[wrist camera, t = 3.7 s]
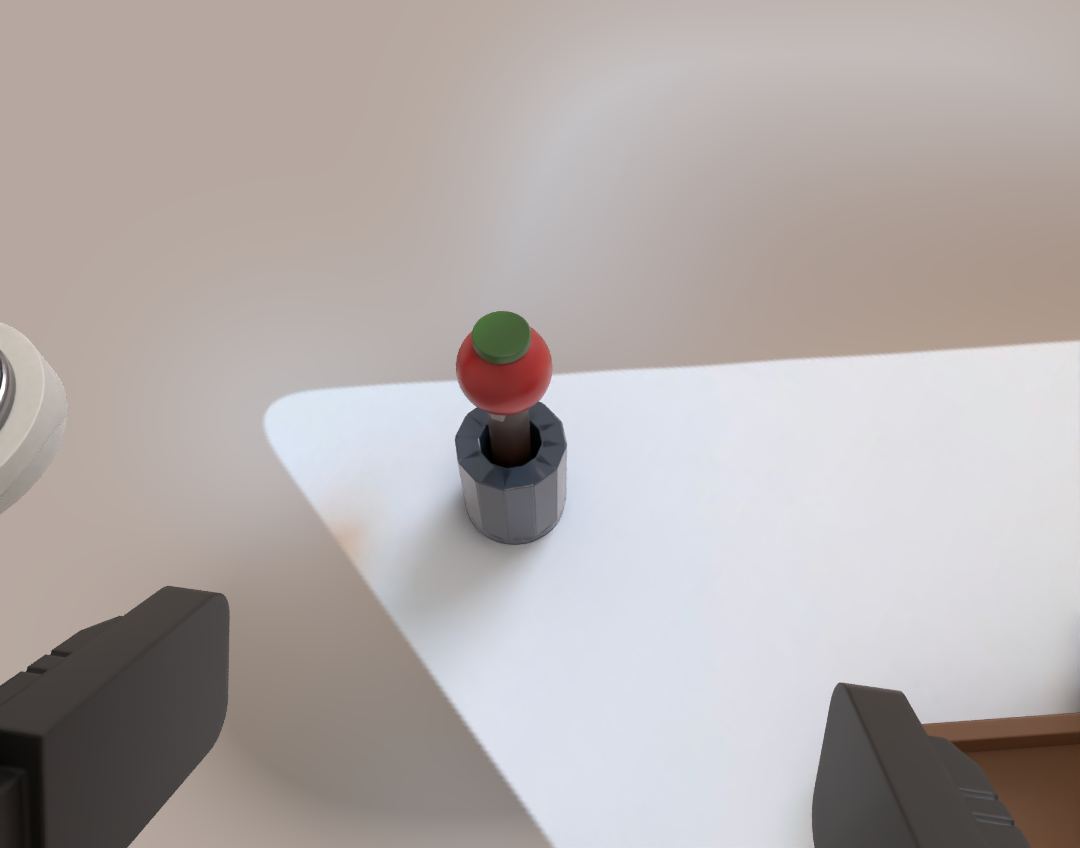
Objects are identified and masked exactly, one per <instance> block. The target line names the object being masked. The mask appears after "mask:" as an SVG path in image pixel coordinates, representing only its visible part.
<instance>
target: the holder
mask: <svg viewBox="0 0 1080 848" xmlns="http://www.w3.org/2000/svg"><path fill="white" fill-rule="evenodd" d="M529 420H530V440H531V461H529V462H528V463H527V464H525V465H524V466H519V467H512V468H504V467H501V466H498V465H495V464H493V458H492V450H491V442H490V433H489V425H488V417H487V412H485V411H483V410H481V409H479V408H478V407H477V408H475V409H474V410H472V411H471V412H469V413H468V414H467V415H466V416H465V418H464V420H463V422H462V424H461V426H460V428H459V430H458V432H457V434H456V438H455V445H456V452H457V460H458V466H459V471H460V476H461V481H462V487H463V492H464V497H465V503H466V508H467V512H468V514H469V516H470V519H471V520H472V522H473V524H474V525H475V526H476V528H477V529H478V530H479V531H480V532H482V533H483V534H484V535H485V536H487V537H489V538H491V539H493V540H495V541H498V542H502V543H507V544H522V543H527V542H531V541H534V540H536V539H538V538H540V537H542V536H544V535H545V534H547V533H548V532H549V531H550V530H551V529H552V528H553V527H554V526H555V525H556V524H557V522H558V521H559V519H560V517H561V515H562V512H563V509H564V502H565V500H566V471H567V442H566V438H565V433H564V429H563V424H562V422H561V420H560V419H559V418H558V417H557V416H556V415H555V414H554V413H553V412H552V411H551V410H550V409H548V408H547V407H546V406H545V405H544V404H543V403H541V402H537V403H536V404H535V405H534V406H532V407H531V408H529Z"/></svg>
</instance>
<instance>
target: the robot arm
mask: <svg viewBox="0 0 1080 848" xmlns="http://www.w3.org/2000/svg"><path fill="white" fill-rule="evenodd" d="M15 393H16V379H15V374H14V370H13V367H12V365H11V363H10V361H9V360H8V358H7V357H6V356H5V354H4V353H3V352H2V351H1V350H0V430H1V429H2V427H3V426H4V424H5V422H6V420H7V418H8V416H9V414H10V412H11V409H12V406H13V403H14V399H15ZM228 669H229V605H228V601H227V599H226V597H225V596H224V595H223V594H221V593H215V592H208V591H201V590H194V589H186V588H180V587H172V586H166V587H164V588H162V589H160V590H159V591H158V592H156V593H155V594H153V595H152V596H150V597H149V598H148V599H146V600H145V601H144V602H142V603H141V604H139V605H138V606H137V607H135V608H134V609H132V610H131V611H130V612H128V613H127V614H125V615H124V616H118V617H115V618H113V619H110V620H107V621H105V622H102V623H99V624H97V625H94V626H92V627H89V628H86V629H84V630H81V631H79V632H78V633H76V634H75V635H73V636H72V637H70V638H69V639H68V640H66V641H65V642H63V643H62V644H60V645H59V646H57V647H56V648H54V649H53V650H52V651H51V654H50V655H44V656H43V657H41V658H40V659H38V660H37V661H36V662H34V663H33V664H31V665H30V666H28V667H27V671H26V672H20V673H18V674H17V675H15V676H14V677H13V678H11V679H9V680H8V681H7V682H5V683H4V684H2V685H1V686H0V848H127V847H128V846H129V845H130V844H131V843H132V841H133V840H134V839H135V838H136V837H137V836H138V834H139V833H140V832H141V831H142V830H143V828H144V827H145V826H146V825H147V824H148V823H149V821H150V820H151V819H152V818H153V817H154V816H155V814H156V813H157V812H158V811H159V810H160V808H161V807H162V806H163V805H164V804H165V803H166V802H167V800H168V799H169V798H170V797H171V796H172V795H173V793H174V792H175V791H176V790H177V789H178V787H179V786H180V785H181V784H182V783H183V782H184V780H185V779H186V778H187V777H188V776H189V774H190V773H191V772H192V771H193V770H194V769H195V768H196V766H197V765H198V764H199V763H200V762H201V761H202V759H203V758H204V757H205V756H206V755H207V753H208V752H209V751H210V750H211V748H212V747H213V746H214V744H215V742H216V740H217V739H218V737H219V734H220V732H221V729H222V726H223V723H224V720H225V716H226V711H227V704H228ZM998 796H999V795H998V794H997V792H996V791H995V789H994V788H993V786H992V785H991V783H990V781H989V780H988V778H987V777H986V775H985V774H984V772H983V770H982V769H981V767H980V766H979V765H978V764H977V763H975V762H974V761H973V760H972V759H971V758H969V757H968V756H967V755H966V754H965V753H963V752H962V751H961V750H960V749H958V748H957V747H956V746H955V745H954V744H952V743H951V742H950V741H949V740H947V739H946V738H942V737H935V736H929V735H927V733H926V731H925V730H924V728H923V726H922V724H921V723H920V721H919V719H918V718H917V716H916V714H915V712H914V711H913V709H912V707H911V705H910V704H909V702H908V700H907V698H906V697H905V695H904V694H903V693H902V692H901V691H897V690H890V689H883V688H876V687H869V686H862V685H855V684H848V683H838V684H837V685H836V687H835V689H834V691H833V694H832V697H831V702H830V707H829V712H828V718H827V723H826V729H825V734H824V740H823V745H822V750H821V756H820V761H819V767H818V772H817V778H816V783H815V788H814V795H813V805H812V831H813V840H814V845H815V848H1032V847H1031V846H1030V844H1029V842H1028V841H1027V839H1026V838H1025V836H1024V835H1023V833H1022V831H1021V830H1020V828H1019V827H1015V824H1014V822H1015V820H1014V819H1013V817H1012V816H1011V814H1010V813H1009V811H1008V810H1007V808H1006V806H1005V805H1004V803H1003V802H1002V801H999V800H998Z"/></svg>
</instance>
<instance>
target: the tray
mask: <svg viewBox="0 0 1080 848" xmlns="http://www.w3.org/2000/svg"><path fill="white" fill-rule="evenodd" d="M922 726H923V728H924V730H925V731H926V733H927V735H929V736H935V737H942V738H946V739H947V740H949V741H950V742H951V743H952V744H954V745H955V746H956V747H957V748H958V749H960V750H961V751H962V752H963V753H965V754H966V755H967V756H968V757H969V758H971V759H972V760H973V761H974V762H975V763H977V764H978V765H979V766H980V767H981V769H982V770H983V772H984V774H985V775H986V777H987V778H988V780H989V781H990V783H991V785H992V786H993V788H994V789H995V791H996V792H997V794H998V795H999V796H998V800H999V801H1002V802H1003V803H1004V805H1005V806H1006V808H1007V810H1008V811H1009V813H1010V814H1011V816H1012V817H1013V819H1014V820H1015V822H1014V824H1015V827H1019V828H1020V830H1021V831H1022V833H1023V835H1024V836H1025V838H1026V839H1027V841H1028V842H1029V844H1030V846H1031V847H1032V848H1080V713H1067V714H1053V715H1039V716H1026V717H1012V718H999V719H985V720H971V721H958V722H944V723H931V724H922Z"/></svg>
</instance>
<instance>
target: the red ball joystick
mask: <svg viewBox="0 0 1080 848" xmlns="http://www.w3.org/2000/svg"><path fill="white" fill-rule="evenodd" d="M456 373H457V379H458V383H459V385H460V388H461V389H462V391H463V393H464V395H465V396H466V397H467V398H468V400H469V401H470V402H471V403H472V404H474V405H475V406H476V407H478V408H479V409H481V410H483V411H485V412H487V417H488V425H489V433H490V442H491V450H492V458H493V464H495V465H498V466H501V467H504V468H512V467H519V466H524V465H525V464H527V463H528V462H529V461H531V440H530V420H529V408H531V407H532V406H534V405H535V404H536V403H537V402H538V401H539V400H540V399H541V398H542V397H543V395H544V394H545V392H546V390H547V388H548V386H549V383H550V381H551V376H552V359H551V355H550V351H549V349H548V347H547V345H546V343H545V341H544V340H543V338H542V337H541V336H540V335H539V334H538V333H537V332H536V331H535V330H534V329H533V328H531V327H530V326H529V324H528V323H527V322H526V320H525V319H524V318H522V317H521V316H519V315H517V314H515V313H512V312H507V311H498V312H493V313H490V314H488V315H485V316H484V317H482V318H481V319H480V320H479V321H478V322H477V323H476V324H475V326H474V328H473V330H472V332H471V333H470V334H469V335H468V336H467V337H466V339H465V340H464V342H463V343H462V345H461V347H460V349H459V352H458V355H457V362H456Z"/></svg>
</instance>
